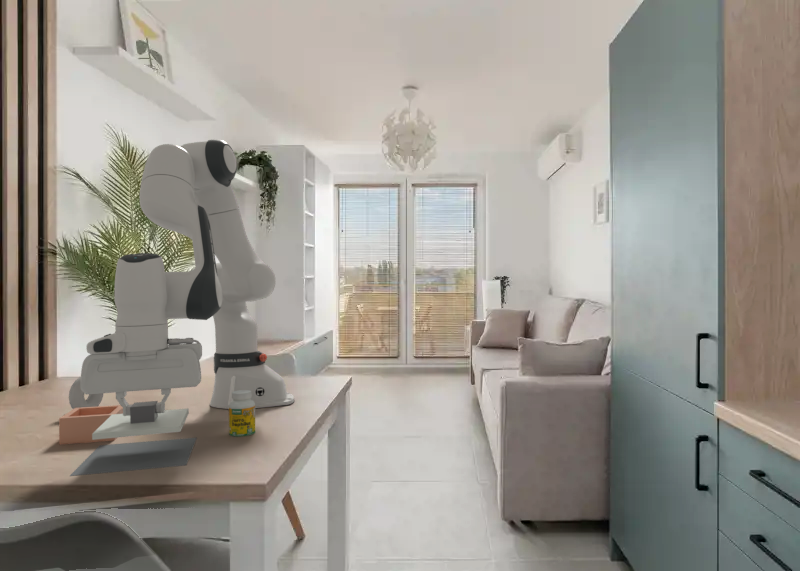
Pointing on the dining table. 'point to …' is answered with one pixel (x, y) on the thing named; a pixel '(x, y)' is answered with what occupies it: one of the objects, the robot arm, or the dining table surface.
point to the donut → (82, 397)
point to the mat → (137, 456)
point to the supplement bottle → (241, 414)
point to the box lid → (142, 422)
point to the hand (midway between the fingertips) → (144, 413)
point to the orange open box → (85, 423)
